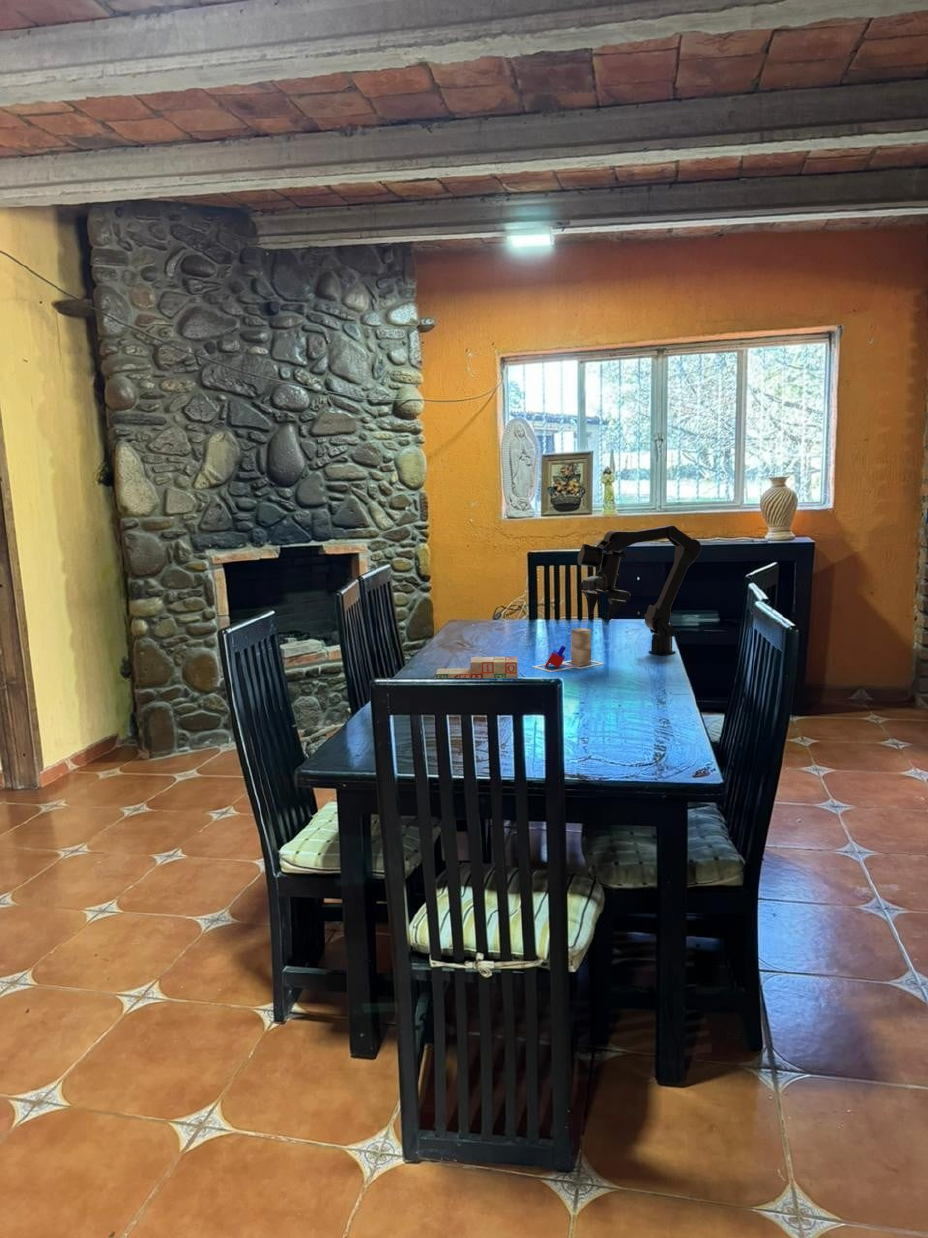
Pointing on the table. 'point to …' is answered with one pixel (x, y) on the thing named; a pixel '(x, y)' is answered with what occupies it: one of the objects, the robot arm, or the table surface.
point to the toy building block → (556, 657)
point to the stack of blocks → (483, 668)
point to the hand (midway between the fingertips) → (599, 617)
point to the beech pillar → (581, 646)
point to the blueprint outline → (567, 665)
